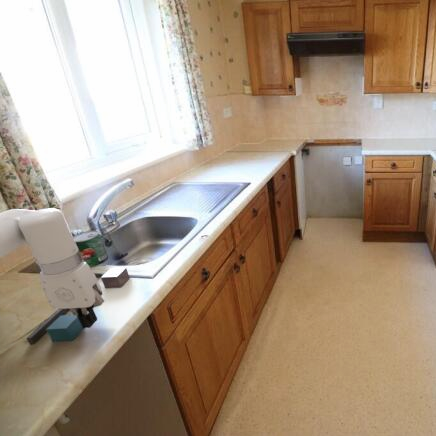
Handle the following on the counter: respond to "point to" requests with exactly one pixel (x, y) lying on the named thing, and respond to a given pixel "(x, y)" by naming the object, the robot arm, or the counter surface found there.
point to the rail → (48, 323)
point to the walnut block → (115, 277)
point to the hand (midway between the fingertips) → (90, 323)
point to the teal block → (64, 328)
